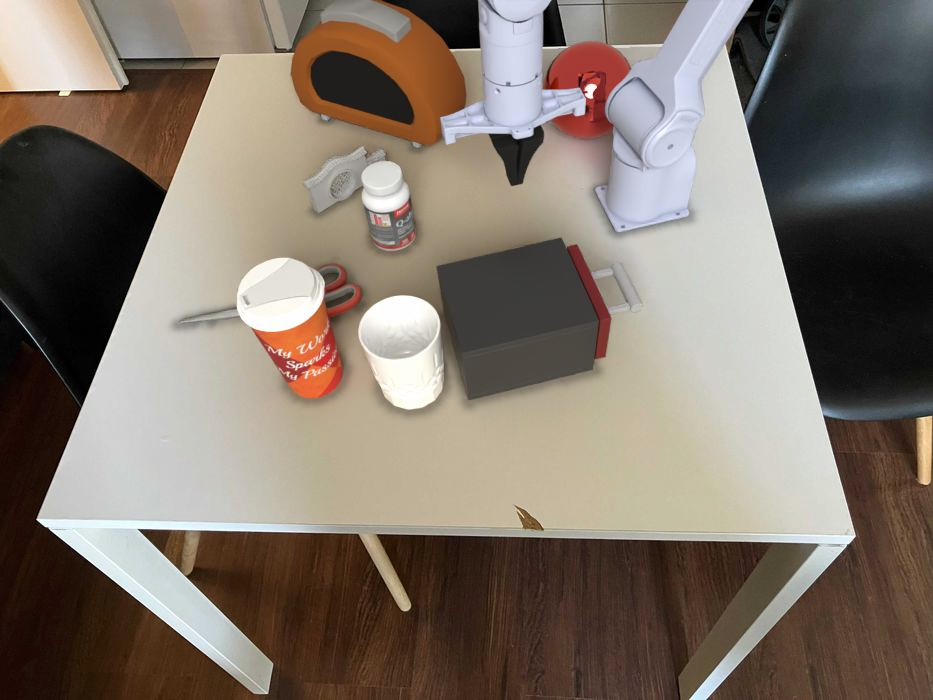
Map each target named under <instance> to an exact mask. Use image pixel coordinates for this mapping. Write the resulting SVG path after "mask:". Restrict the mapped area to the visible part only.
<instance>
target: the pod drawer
mask: <svg viewBox="0 0 933 700" xmlns="http://www.w3.org/2000/svg"><path fill="white" fill-rule="evenodd" d="M566 248H567V250H568V252H569V255H570V257H571V259H572V261H573V264H574V266H575V268H576V270H577V272H578V275H579V277H580V279H581V281H582V284H583V286H584V288H585V290H586V293H587V295H588V297H589V299H590V301H591V304H592V306H593V308H594V310H595V313H596V315H597V317H598V319H599V325H598V333H597V341H596V349H595V357H594V360H599V359H603V358H606V357H607V350H608V344H609V338H610V331H611V324H612V316H611V315H614V314H619V313H623V312H627V311H630V312H631V313H638V312H640V311H642V310H643V309H644V307H645V306H644V303H643V301H642V299H641V297H640V295H639V293H638V291H637V289H636V287H635V285H634V284H633V282H632V279H631V277H630V275H629V274H628V272H627V269H626V268H625V267H626V266H624V263H623V262H621V261H616V262H614V263H613V264H612V265H611V266H610V267H608V268H603V269H599V270H596V271H591V270H590V268H589V265H588V264H587V262H586V259H585V257H584V255H583V253H582V251H581V249H580V247H579V245H578V243H576V244H572V245H568V246H566ZM610 276H613V277H614V279H615V282H616V284H617V286H618V288H619V290H620V293H621V294H622V297H623V298H624V300H625V303H621V304H616V305H612V306H608V307H607V305H606V303H605V301H604V298H603V296H602V294H601V292H600V290H599V288H598V285H597V283H596V281H595V280H598V279H601V278H605V277H610Z"/></svg>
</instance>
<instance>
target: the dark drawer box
mask: <svg viewBox="0 0 933 700" xmlns="http://www.w3.org/2000/svg"><path fill="white" fill-rule="evenodd" d="M436 272H437V279H438V285H439V291H440V297H441V304H442V310H443V311H442V312H443V316H444V321H445V324H446V328H447V331H448V334H449V338H450V341H451V344H452V349H453V351H454V354H455V358H456V362H457V365H458V369H459V373H460V375H461V376H460V377H461V379H462V383H463V386H464V389H465V393H466V396H467V400H468V401H472V400H476V399H481V398H484V397H488V396H493V395H497V394H500V393H504V392H508V391H512V390H518V389H520V388H521V389H522V388H524V387H529V386H533V385H537V384H541V383H545V382H549V381H552V380H553V381H554V380H557V379H561V378H565V377H569V376H574V375H578V374H582V373H586V372H589V371H593V370H594V363H595V358H594V357H595V349H596V341H597V333H598V325H599V319H598V317H597V315H596V313H595V310H594V308H593V306H592V304H591V301H590V299H589V297H588V295H587V293H586V290H585V288H584V286H583V284H582V281H581V279H580V277H579V275H578V272H577V270H576V268H575V266H574V264H573V261H572V259H571V257H570V255H569V252H568V250H567V246H566V244H565V242H564V239H563V237H557V238H551V239H548V240H544V241H539V242H535V243H530V244H526V245H522V246H518V247H514V248H509V249H505V250H499V251H495V252H492V253H488V254H483V255H478V256H474V257H470V258H466V259H461V260H457V261H452V262H448V263H445V264H439V265H436Z"/></svg>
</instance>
